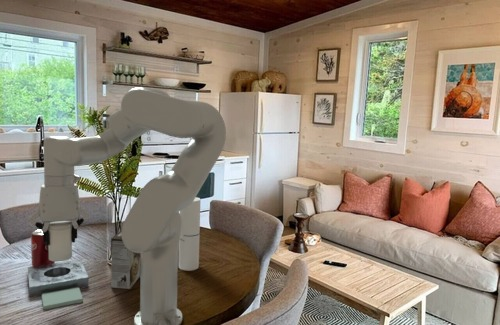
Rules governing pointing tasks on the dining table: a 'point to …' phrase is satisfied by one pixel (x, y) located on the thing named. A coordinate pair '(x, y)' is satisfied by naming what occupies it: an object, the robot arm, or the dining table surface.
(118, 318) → the dining table surface
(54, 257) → the white rounded cylinder
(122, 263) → the coffee box
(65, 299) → the mat
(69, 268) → the housing
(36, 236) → the soda can
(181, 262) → the cylindrical container
